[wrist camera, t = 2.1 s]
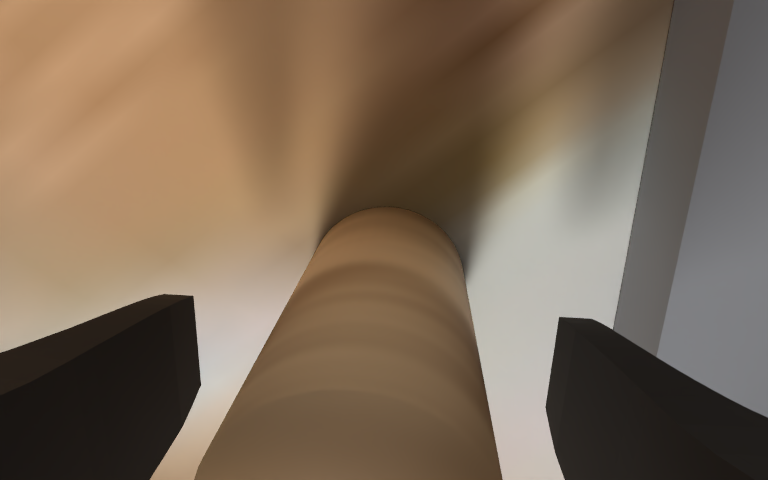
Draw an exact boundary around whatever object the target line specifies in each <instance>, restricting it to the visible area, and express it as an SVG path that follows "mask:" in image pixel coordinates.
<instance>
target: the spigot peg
mask: <svg viewBox="0 0 768 480" xmlns="http://www.w3.org/2000/svg"><path fill="white" fill-rule="evenodd" d="M194 480H502V474H501V469H500V464H499V458H498V453H497V448H496V443H495V437H494V432H493V427H492V421H491V416H490V411H489V405H488V400H487V395H486V389H485V384H484V379H483V374H482V368H481V363H480V358H479V352H478V347H477V342H476V336H475V331H474V326H473V321H472V315H471V310H470V305H469V299H468V294H467V289H466V283H465V278H464V273H463V267H462V263H461V260H460V256H459V254H458V252H457V250H456V247H455V246H454V244H453V243H452V241H451V239H450V238H449V237H448V236H447V234H446V233H445V232H444V231H443V230H442V229H441V228H440V227H439V226H438V225H436V224H435V223H434V222H432V221H431V220H429V219H428V218H426V217H424V216H422V215H420V214H418V213H415V212H413V211H410V210H406V209H402V208H395V207H376V208H369V209H365V210H362V211H358V212H356V213H354V214H351V215H349V216H348V217H346V218H344V219H342V220H341V221H340V222H338V223H337V224H336V225H335V226H333V227H332V228H331V229H330V231H329V232H328V233H327V234H326V235H325V237H324V238H323V239H322V241H321V242H320V244H319V246H318V248H317V250H316V252H315V253H314V255H313V257H312V259H311V261H310V263H309V264H308V266H307V268H306V270H305V272H304V274H303V275H302V277H301V279H300V281H299V283H298V285H297V286H296V288H295V290H294V292H293V294H292V296H291V297H290V299H289V301H288V303H287V305H286V307H285V308H284V310H283V312H282V314H281V316H280V318H279V319H278V321H277V323H276V325H275V327H274V329H273V330H272V332H271V334H270V336H269V338H268V340H267V341H266V343H265V345H264V347H263V349H262V351H261V352H260V354H259V356H258V358H257V360H256V362H255V363H254V365H253V367H252V369H251V371H250V373H249V374H248V376H247V378H246V380H245V382H244V384H243V385H242V387H241V389H240V391H239V393H238V395H237V396H236V398H235V400H234V402H233V404H232V406H231V407H230V409H229V411H228V413H227V415H226V417H225V418H224V420H223V422H222V424H221V426H220V428H219V429H218V431H217V433H216V435H215V437H214V439H213V440H212V442H211V444H210V446H209V448H208V450H207V451H206V453H205V455H204V457H203V459H202V461H201V463H200V465H199V467H198V470H197V473H196V476H195V479H194Z"/></svg>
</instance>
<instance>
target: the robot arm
mask: <svg viewBox="0 0 768 480" xmlns="http://www.w3.org/2000/svg"><path fill="white" fill-rule="evenodd" d="M200 386H201V380H200V368H199V356H198V345H197V333H196V321H195V310H194V298H193V296H185V295H168V294H163V295H158V296H154V297H150V298H147V299H144V300H141V301H138V302H136V303H133V304H130V305H128V306H125V307H122V308H120V309H117V310H115V311H112V312H110V313H107V314H104V315H102V316H99V317H97V318H94V319H92V320H89V321H87V322H84V323H82V324H79V325H77V326H74V327H72V328H69V329H66V330H63V331H61V332H58V333H55V334H52V335H50V336H47V337H44V338H41V339H39V340H36V341H33V342H30V343H28V344H25V345H22V346H19V347H17V348H14V349H11V350H8V351H5V352H2V353H0V480H149V479H150V478H151V476H152V475H153V473H154V472H155V470H156V468H157V467H158V465H159V464H160V462H161V461H162V459H163V457H164V456H165V454H166V453H167V451H168V449H169V448H170V446H171V445H172V443H173V441H174V440H175V438H176V437H177V435H178V433H179V432H180V430H181V428H182V426H183V424H184V422H185V420H186V418H187V416H188V414H189V411H190V409H191V407H192V405H193V402H194V400H195V398H196V395H197V393H198V391H199V388H200ZM546 412H547V417H548V422H549V427H550V432H551V436H552V440H553V445H554V449H555V453H556V456H557V459H558V462H559V465H560V468H561V470H562V473H563V476H564V479H565V480H768V418H767V417H765V416H763V415H761V414H759V413H757V412H755V411H752V410H750V409H748V408H746V407H744V406H742V405H740V404H738V403H736V402H734V401H732V400H730V399H729V398H727V397H725V396H723V395H721V394H719V393H718V392H716V391H714V390H712V389H710V388H708V387H707V386H705V385H703V384H701V383H699V382H698V381H696V380H694V379H692V378H691V377H689V376H687V375H685V374H684V373H682V372H680V371H679V370H677V369H675V368H674V367H672V366H670V365H669V364H667V363H665V362H664V361H662V360H660V359H659V358H657V357H656V356H654V355H652V354H651V353H649V352H647V351H646V350H644V349H643V348H641V347H639V346H638V345H636V344H635V343H633V342H632V341H630V340H628V339H627V338H625V337H624V336H622V335H620V334H619V333H617V332H615V331H614V330H612V329H610V328H609V327H607V326H605V325H603V324H601V323H599V322H597V321H595V320H593V319H584V318H566V317H559V322H558V329H557V335H556V342H555V349H554V355H553V362H552V368H551V375H550V382H549V388H548V395H547V401H546Z"/></svg>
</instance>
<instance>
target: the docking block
mask: <svg viewBox="0 0 768 480" xmlns="http://www.w3.org/2000/svg"><path fill="white" fill-rule="evenodd" d="M613 330H614V331H615V332H617V333H619V334H620V335H622V336H624V337H625V338H627V339H628V340H630V341H632V342H633V343H635V344H636V345H638V346H639V347H641V348H643V349H644V350H646V351H647V352H649V353H651V354H652V355H654V356H656V357H657V358H659V359H660V360H662V361H664V362H665V363H667V364H669V365H670V366H672V367H674V368H675V369H677V370H679V371H680V372H682V373H684V374H685V375H687V376H689V377H691V378H692V379H694V380H696V381H698V382H699V383H701V384H703V385H705V386H707V387H708V388H710V389H712V390H714V391H716V392H718V393H719V394H721V395H723V396H725V397H727V398H729V399H730V400H732V401H734V402H736V403H738V404H740V405H742V406H744V407H746V408H748V409H750V410H752V411H755V412H757V413H759V414H761V415H763V416H765V417H767V418H768V0H675V2H674V7H673V12H672V18H671V23H670V28H669V34H668V39H667V44H666V50H665V55H664V61H663V66H662V71H661V77H660V82H659V87H658V93H657V98H656V104H655V109H654V114H653V120H652V125H651V130H650V136H649V141H648V146H647V152H646V157H645V163H644V168H643V173H642V179H641V184H640V189H639V195H638V200H637V206H636V211H635V216H634V222H633V227H632V232H631V238H630V243H629V249H628V254H627V259H626V265H625V270H624V275H623V281H622V286H621V291H620V297H619V302H618V308H617V313H616V318H615V324H614V329H613Z"/></svg>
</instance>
